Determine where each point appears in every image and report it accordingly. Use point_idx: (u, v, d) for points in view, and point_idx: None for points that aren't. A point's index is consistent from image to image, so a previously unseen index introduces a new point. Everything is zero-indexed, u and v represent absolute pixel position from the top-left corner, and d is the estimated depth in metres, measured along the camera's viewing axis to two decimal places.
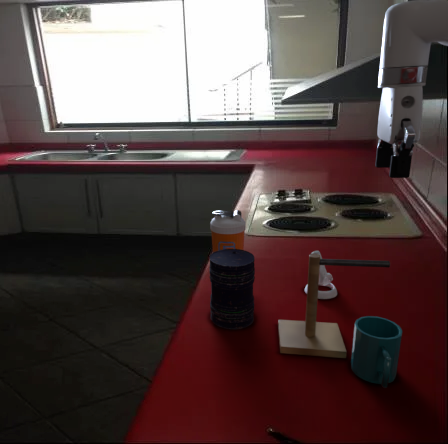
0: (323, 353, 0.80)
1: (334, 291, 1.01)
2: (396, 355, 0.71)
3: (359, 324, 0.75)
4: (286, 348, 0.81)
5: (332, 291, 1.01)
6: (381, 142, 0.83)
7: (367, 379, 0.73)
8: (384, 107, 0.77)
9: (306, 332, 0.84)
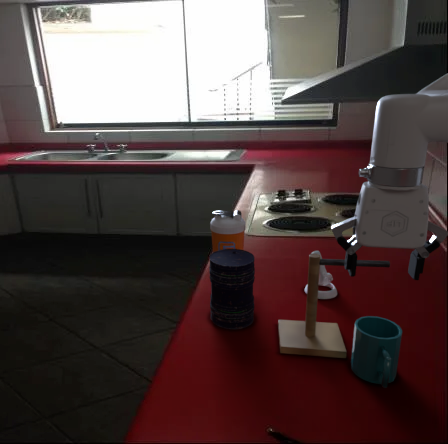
0: (323, 353, 0.80)
1: (334, 291, 1.01)
2: (396, 355, 0.71)
3: (359, 324, 0.75)
4: (286, 348, 0.81)
5: (332, 291, 1.01)
6: None
7: (367, 379, 0.73)
8: None
9: (306, 332, 0.84)
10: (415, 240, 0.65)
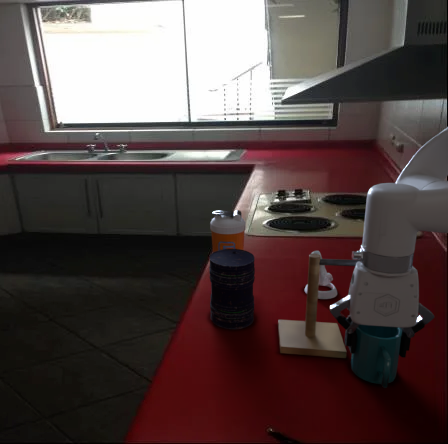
0: (323, 353, 0.80)
1: (334, 291, 1.01)
2: (396, 355, 0.71)
3: None
4: (286, 348, 0.81)
5: (332, 291, 1.01)
6: None
7: (367, 379, 0.73)
8: None
9: (306, 332, 0.84)
10: (407, 320, 0.68)
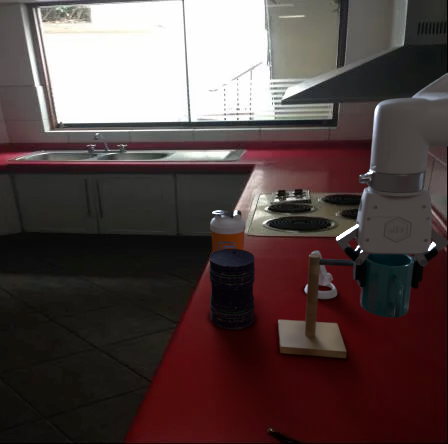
0: (323, 353, 0.80)
1: (334, 291, 1.01)
2: (408, 285, 0.67)
3: (368, 257, 0.71)
4: (286, 348, 0.81)
5: (332, 291, 1.01)
6: None
7: (378, 313, 0.69)
8: None
9: (306, 332, 0.84)
10: (419, 246, 0.64)
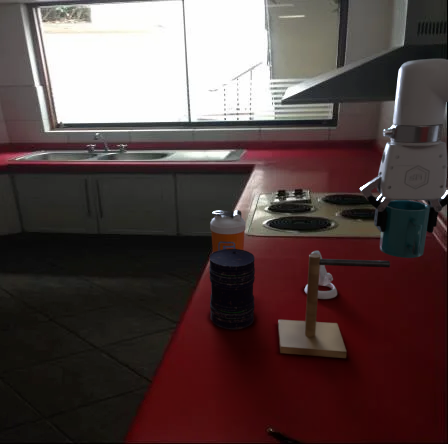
0: (323, 353, 0.80)
1: (334, 291, 1.01)
2: (424, 228, 0.75)
3: None
4: (286, 348, 0.81)
5: (332, 291, 1.01)
6: None
7: (397, 254, 0.77)
8: None
9: (306, 332, 0.84)
10: (435, 192, 0.73)
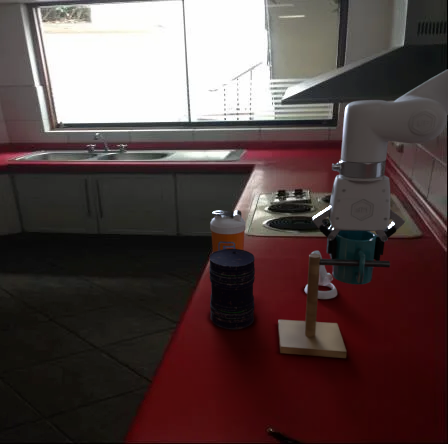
0: (323, 353, 0.80)
1: (334, 291, 1.01)
2: (371, 257, 0.79)
3: (339, 235, 0.84)
4: (286, 348, 0.81)
5: (332, 291, 1.01)
6: None
7: (346, 281, 0.81)
8: None
9: (306, 332, 0.84)
10: (380, 223, 0.77)
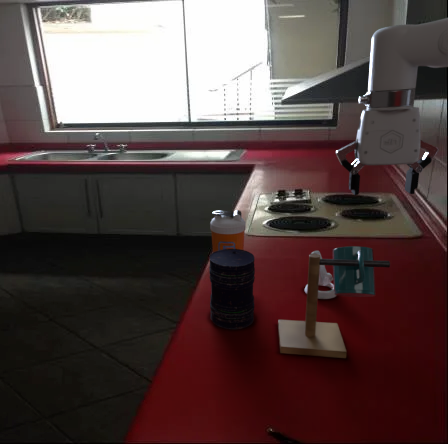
0: (323, 353, 0.80)
1: None
2: None
3: None
4: (286, 348, 0.81)
5: (332, 291, 1.01)
6: (407, 164, 0.79)
7: (348, 290, 0.79)
8: None
9: (306, 332, 0.84)
10: (410, 155, 0.75)
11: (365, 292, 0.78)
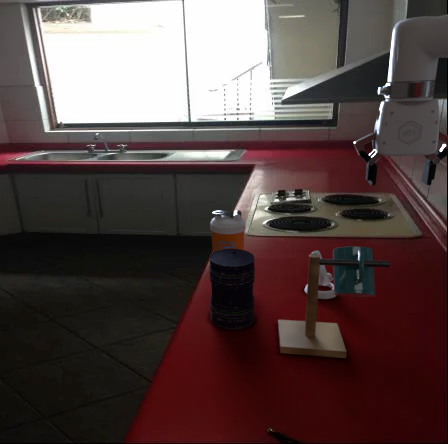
0: (323, 353, 0.80)
1: None
2: None
3: None
4: (286, 348, 0.81)
5: (332, 291, 1.01)
6: None
7: (348, 290, 0.79)
8: None
9: (306, 332, 0.84)
10: (428, 147, 0.76)
11: (365, 292, 0.78)
